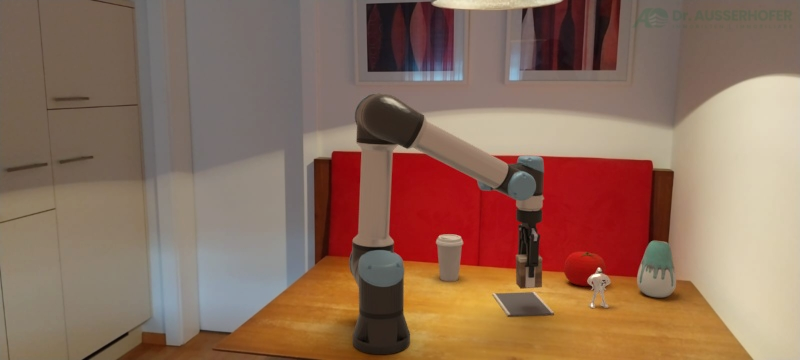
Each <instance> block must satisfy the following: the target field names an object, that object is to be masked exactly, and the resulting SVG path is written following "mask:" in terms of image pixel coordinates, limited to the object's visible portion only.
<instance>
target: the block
mask: <svg viewBox="0 0 800 360" xmlns="http://www.w3.org/2000/svg"><path fill="white" fill-rule="evenodd" d="M525 265H527V254H523V255H518V254H515V268H516V269H515V274H516V275H515V277H516V278H515V281H516V283H515V284H516V285H517V286H518V288H519V289H520V290H521V289H527V288H526V287H525V272H526V267H525ZM542 287H543V257H542V256H541V255H539V261H538V266H536V267H535V287H534V288H533V289H538V288H542Z"/></svg>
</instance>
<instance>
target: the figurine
mask: <svg viewBox="0 0 800 360" xmlns="http://www.w3.org/2000/svg"><path fill="white" fill-rule="evenodd" d="M592 281H593V284H592ZM587 282H588V284H589V285H590V286H591V287H592V288H591V289H590V290H589V291H593V294H592V299H591V302H589V304H588V307H589V308H590V309H595V308H596V304H595V301H596V298H597V295H598V294H599V293H600V297H601V302H600V304H599V305H600V307H602V308H604V309H605V308H606V309H608V308H609V304H608V303H606V300H605V291H607V289H606V286H608V285H610V284H611V279H610V277H609V276H608V275H607V274H606V273H605V274H602V270H601V268H597V270H596V273H595V274H593V275H591V276H590V277H589V278H588V280H587Z"/></svg>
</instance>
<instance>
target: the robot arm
mask: <svg viewBox="0 0 800 360" xmlns="http://www.w3.org/2000/svg"><path fill="white" fill-rule="evenodd" d="M354 120H355V121H354V122H355V124H356V140H355V141H356V142H355V143H356V144H357V145H358V146H359V147H360V149H361V159H360V183H359V204H358V205H359V206H358V209H359V210H358V229H357V231H358V232H357V234H356V235H355V236H354V237H353V239H352V246H351V249H352V250H351V252H350V256H349V262H348V264H349V265H348V266H349V267H348V268H349V271H350V273H351V276H352V277H353V279H354V280H355V283H356V284H357V287H358V317H357V320H356V323H355V325H354V330H353V333H352V344H353V347H354V348H355V349H357V350H358V351H360V352H363V353H366V354H371V355H389V354H390V355H391V354H395V353H398V352H401V351H405V349H407V348H408V347H409V346H410V344H411V332H410V329H409V326H408V323H407V321H406V317H405V315H404V313H405V312H404V306H405V305H404V295H405V294H404V292H405V291H404V289H405V288H404V285H405V284H404V283H405V282H404V281H405V280H404V278H405V277H404V275H405V267H404V260H403V258H402V257H401V255H399V254H397V253H396V252H394V249H395V247H394V246H395V241H394V239H393V238H392V237H391V236H390V221H391V220H390V218H391V215H390V214H391V196H392V173H393V158H394V157H393V152H394V150H395V149H396V148H397V147H399V146H400V147H402V148H405V149H406V150H409V149H415V150H417V151H418V152H421V153H423V154H425V155H427V156H429V157H430V158H433V159H434V160H437V161H439V162H441V163H443V164H445V165H447V166H449V167H450V168H452V169H455V170H456V171H459V172H461V173H463V174H465V175H467V176H468V177H471V178H472V179H474V180H476V181H477V186H478V188H479V189H480V190H481V191H488V192H492V191H493V192H494V191H497V192H499V193H500V194H503V195H506V196H507V197H509V198H511V199H512V200H515V201H516V202H515V206H516V211H515V215H516V216H515V219H516V222H519V223H520V224H518V225H517V228H518V245H517V247H518V248H517V255H523V254H527V265H525V267H526V272H525V287H526V288H525V289H535V288H534V287H535V267H536V266H538V261H539V256H540V254H539V253H540V240H541V234H540V233H538V228H537V224H541V223H542V222H543V209H542V208H543V205H544V203H543V201H544V200H545V197H544V194H543V193H544V176H545V164H544V158H543V157H541V156H538V155H520V156H518V158H517V161H516V162H515V163H507V162H505V161H503V160H502V159H500V158H498V157H496V156H493V155H492V154H490V153H488V152H486V151H484V150H483V149H481V148H478V147H477V146H475V145H473V144H471V143H469V142H467V141H466V140H463V139H462V138H459V136H458V137H457V136H456V135H454V134H453V133H450V132H448V131H446V130H445V129H443V128H441V127H439V126H437V125H435V124H433V123H431V122H430V121H428V120H427V117H426V115H424V114H423V113H421V112H419V111H417V110H415V109H414V108H413V107H411V106H409V105H408V104H406V103H405V102H404V101H402V100H401V99H399V98H397V97H396V96H393V95H392V94H387V93H372V94H368V95H367V96H365V97H363V98H362V99H361V100H360V101H359V103H358V104H357V106H356V108H355V110H354Z"/></svg>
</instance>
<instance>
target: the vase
mask: <svg viewBox="0 0 800 360" xmlns="http://www.w3.org/2000/svg"><path fill="white" fill-rule="evenodd" d="M640 261H641V262H640V265H639V267H638V271H637V276H636V283H637V287H638V289H639V291H640V292H641V293H643V294H644V295H646V296H648V297H652V298H666V297H667V298H668V297H669V296H670V295H672V294H673V293H674V291H675V289H676V286H677V277H676V276H677V275H676V271H675V264H674V261H673V255H672V249H671V245H670V244H669V242H667V241H661V240H652V241H650V242H649V243H648V245H647V246H646V248H645V251H644V254H643V257H642V259H641V260H640Z"/></svg>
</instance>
